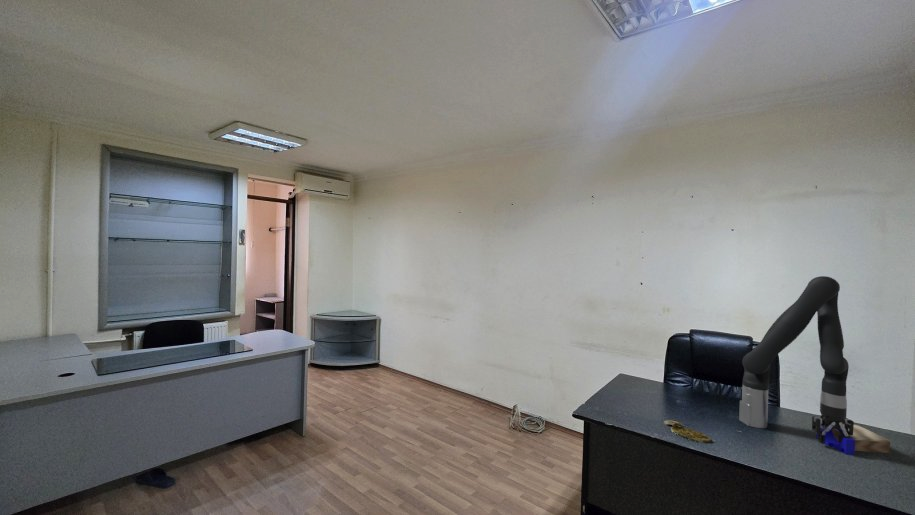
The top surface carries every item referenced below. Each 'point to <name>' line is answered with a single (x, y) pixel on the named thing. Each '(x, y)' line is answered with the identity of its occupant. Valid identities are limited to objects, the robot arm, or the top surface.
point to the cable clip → (845, 446)
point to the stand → (866, 440)
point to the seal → (690, 433)
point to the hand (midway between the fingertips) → (831, 443)
